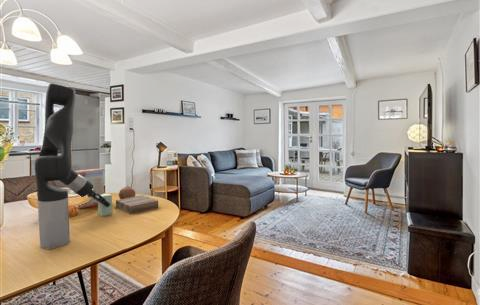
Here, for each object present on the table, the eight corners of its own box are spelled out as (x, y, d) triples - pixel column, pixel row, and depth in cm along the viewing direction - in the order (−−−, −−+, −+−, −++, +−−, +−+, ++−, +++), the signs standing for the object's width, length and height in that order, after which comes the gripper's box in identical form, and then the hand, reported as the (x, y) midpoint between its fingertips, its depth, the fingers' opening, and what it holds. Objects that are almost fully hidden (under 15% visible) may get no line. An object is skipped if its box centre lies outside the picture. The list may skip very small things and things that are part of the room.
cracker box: (100, 202, 158) (99, 168, 157) (104, 204, 154) (103, 168, 153) (74, 207, 148) (72, 170, 146) (78, 209, 144) (76, 171, 142)
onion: (126, 204, 164) (127, 189, 168) (138, 201, 161) (139, 186, 165) (114, 202, 156) (115, 186, 160) (126, 199, 153) (127, 183, 157)
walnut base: (158, 207, 148) (158, 200, 147) (130, 213, 136) (130, 206, 136) (142, 201, 160) (142, 195, 160) (116, 207, 148) (115, 200, 148)
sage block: (112, 213, 136) (111, 194, 135) (102, 216, 132) (101, 196, 131) (108, 211, 139) (107, 193, 138) (98, 214, 135) (97, 194, 135)
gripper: (90, 180, 123) (117, 201, 133) (81, 177, 133) (106, 196, 142) (78, 193, 120) (107, 213, 129) (69, 189, 129) (96, 208, 139)
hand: (106, 204), depth 136 cm, fingers closed on sage block, 5 cm apart
